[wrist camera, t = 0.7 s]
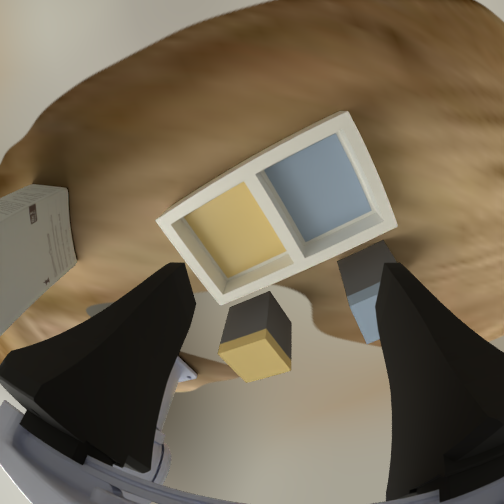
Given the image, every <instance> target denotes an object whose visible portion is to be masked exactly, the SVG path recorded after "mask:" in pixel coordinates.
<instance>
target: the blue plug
mask: <svg viewBox="0 0 504 504" xmlns="http://www.w3.org/2000/svg"><path fill="white" fill-rule="evenodd" d="M337 263H338V266H339V270H340V273H341V277H342V280H343V284H344V288H345V291H346V295H347V299H348V302H349V306H350V308H351V311H352V313H353V315H354V317H355V319H356V321H357V323H358V326H359V328H360V330H361V332H362V334H363V337H364V339H365V341H366V343H367V344H369V343H371V342H374V341H376V340H378V339H380V337H379V333H378V327H377V319H376V310H375V304H376V300H377V295H378V291H379V286H380V281H381V276H382V271H383V266H384V263H397V261H396V260H395V258H394V256H393V255H392V253H391V252H390V250H389V248H388V247H387V245H386V244H385V242H384V241H383V240H382V241H380V242H378V243H376V244H373V245H371V246H369V247H367V248H365V249H363V250H361V251H359V252H356V253H354V254H352V255H350V256H348V257H346V258H344V259H341V260H339V261H337Z"/></svg>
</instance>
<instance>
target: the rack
mask: <svg viewBox="0 0 504 504" xmlns="http://www.w3.org/2000/svg"><path fill="white" fill-rule="evenodd" d="M155 221H156V222H157V224H158V225H159V226H160V228H161V229H162V230H163V232H164V233H165V235H166V236H167V237H168V239H169V240H170V241H171V243H172V244H173V245H174V247H175V248H176V250H177V251H178V252H179V254H180V255H181V256H182V258H183V259H184V260H185V261H186V263H187V264H188V265H189V267H190V268H191V269H192V271H193V272H194V273H195V275H196V276H197V277H198V278H199V280H200V281H201V282H202V284H203V285H204V286H205V287H206V289H207V290H208V291H209V292H210V294H211V295H212V296H213V298H214V299H215V300H216V301H217V302H218V304H219V305H220V306H221V305H224V304H226V303H229V302H231V301H234V300H236V299H238V298H241V297H243V296H246V295H248V294H250V293H253V292H255V291H257V290H260V289H262V288H265V287H267V286H269V285H272V284H274V283H276V282H279V281H281V280H283V279H285V278H288V277H290V276H292V275H295V274H297V273H299V272H301V271H304V270H306V269H308V268H310V267H313V266H315V265H317V264H319V263H321V262H324V261H326V260H328V259H330V258H332V257H335V256H337V255H339V254H341V253H343V252H345V251H348V250H350V249H352V248H354V247H356V246H358V245H360V244H362V243H365V242H367V241H369V240H371V239H373V238H375V237H377V236H379V235H381V234H383V233H385V232H387V231H390V230H392V229H394V228H396V227H398V225H397V222H396V219H395V216H394V213H393V211H392V208H391V205H390V203H389V200H388V197H387V195H386V192H385V190H384V187H383V185H382V182H381V180H380V177H379V175H378V173H377V170H376V168H375V166H374V163H373V161H372V159H371V157H370V154H369V152H368V150H367V148H366V146H365V144H364V142H363V139H362V137H361V135H360V133H359V131H358V129H357V127H356V125H355V123H354V121H353V119H352V118H351V116H350V114H349V112H348V111H338V112H336V113H334V114H332V115H330V116H328V117H326V118H324V119H322V120H320V121H318V122H316V123H314V124H312V125H310V126H308V127H306V128H304V129H302V130H300V131H298V132H296V133H294V134H292V135H290V136H288V137H286V138H284V139H282V140H281V141H279V142H277V143H275V144H273V145H271V146H270V147H268V148H266V149H264V150H262V151H261V152H259V153H257V154H255V155H253V156H252V157H250V158H248V159H246V160H245V161H243V162H241V163H239V164H238V165H236V166H234V167H233V168H231V169H229V170H228V171H226V172H224V173H223V174H221V175H219V176H218V177H216V178H214V179H213V180H211V181H209V182H208V183H206V184H205V185H203V186H201V187H200V188H198V189H197V190H195V191H194V192H192V193H190V194H189V195H187V196H186V197H184V198H183V199H181V200H180V201H178V202H177V203H175V204H174V205H172V206H171V207H169V208H168V209H167V210H166V211H165V212H164V213H163V214H162V215H161V216H160V217H159V218H157V219H156V220H155Z"/></svg>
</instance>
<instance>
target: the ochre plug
mask: <svg viewBox="0 0 504 504" xmlns="http://www.w3.org/2000/svg"><path fill="white" fill-rule="evenodd" d="M218 355H219V356H220V357H221V358H222V359H223V360H224V361H225V362H226V363H227V364H228V365H229V366H230V367H231V368H232V369H233V370H234V371H235V372H236V373H237V374H238V375H239V376H240V377H241V378H242V379H243V380H244V381H245V382H246V383H247V382H251V381H255V380H259V379H263V378H267V377H270V376H274V375H278V374H281V373H284V372H288V371H291V321H290V320H289V319H288V317H287V315H286V314H285V312H284V311H283V310H282V308H281V307H280V305H279V304H278V302H277V301H276V299H275V298H274V296H273V295H272V293H271V292H270V291H268V292H266V293H263V294H261V295H259V296H256V297H254V298H251V299H249V300H246V301H244V302H242V303H239V304H237V305H234V306H232V307H230V308H229V312H228V316H227V320H226V324H225V328H224V331H223V335H222V339H221V342H220V346H219V351H218Z"/></svg>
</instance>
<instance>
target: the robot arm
mask: <svg viewBox="0 0 504 504" xmlns="http://www.w3.org/2000/svg"><path fill="white" fill-rule="evenodd" d="M195 306H196V302H195V298H194V295H193V291H192V288H191V284H190V281H189V277H188V274H187V270H186V267H185V263H171V262H170V263H169V264H167V265H165V266H164V267H162V268H161V269H159V270H158V271H157V272H155V273H154V274H153V275H151V276H150V277H149V278H147V279H146V280H145V281H143V282H142V283H141V284H139V285H138V286H137V287H135V288H134V289H133V290H131V291H130V292H129V293H127V294H126V295H124V296H123V297H121V298H120V299H119V300H117V301H116V302H114V303H113V304H112V305H110V306H109V307H107V308H106V309H104V310H103V311H102V312H100V313H98V314H96V315H95V316H93V317H91V318H90V319H88V320H86V321H85V322H83V323H81V324H79V325H77V326H75V327H73V328H71V329H69V330H67V331H65V332H63V333H61V334H59V335H56V336H54V337H52V338H49V339H47V340H44V341H42V342H39V343H36V344H33V345H30V346H27V347H24V348H20V349H17V350H13V351H11V352H10V353H9V354H8V355H7V356H6V357H5V359H4V360H3V362H2V363H1V365H0V383H1V385H2V386H3V387H4V388H5V389H6V390H7V391H8V392H9V393H10V394H11V395H12V396H13V397H14V398H15V399H16V400H17V401H18V402H19V403H20V404H21V405H22V406H23V407H25V408H26V409H27V411H26V413H25V414H23V413H22V412H20V411H19V410H18V409H16V408H15V407H14V406H12V405H11V404H10V403H9V402H7V401H6V400H4V401H3V403H2V405H1V406H0V466H1V467H2V468H3V470H4V471H5V472H6V473H7V475H8V476H9V477H10V479H11V480H12V481H13V482H14V484H15V485H16V486H17V487H18V489H19V490H20V491H21V492H22V493H23V495H24V496H25V497H26V498H27V499H28V500H29V501H30V503H31V504H150V503H151V502H155V503H158V504H245V503H238V502H231V501H226V500H220V499H214V498H210V497H205V496H200V495H196V494H192V493H188V492H184V491H180V490H177V489H173V488H170V487H166V486H163V485H162V484H163V483H164V481H165V479H166V477H167V475H168V472H169V469H170V465H171V452H170V450H169V446H168V445H167V444H166V443H164V442H163V441H164V438H165V434H163V433H162V432H161V431H162V428H163V425H164V422H165V419H166V416H167V413H168V410H169V407H170V404H171V402H172V399H173V396H174V393H175V390H176V387H177V384H178V382H182V381H187V380H192V379H196V378H197V374H196V373H195V372H194V371H193V370H192V369H191V368H190V367H189V366H188V365H187V364H186V363H185V362H184V361H183V360H182V359H181V358H180V357H179V356H178V354H179V352H180V349H181V347H182V345H183V342H184V340H185V338H186V335H187V333H188V330H189V328H190V325H191V322H192V318H193V314H194V310H195ZM375 310H376V319H377V327H378V333H379V337H380V341H381V346H382V350H383V354H384V359H385V363H386V368H387V373H388V378H389V383H390V390H391V405H392V448H391V462H390V470H389V478H388V485H387V491H386V502H380V503H373V504H504V352H502V351H500V350H499V349H497V348H496V347H495V346H493V345H492V344H490V343H489V342H487V341H486V340H485V339H483V338H482V337H481V336H479V335H478V334H477V333H475V332H474V331H473V330H472V329H470V328H469V327H468V326H467V325H466V324H464V323H463V322H462V321H461V320H460V319H458V318H457V317H456V316H455V315H454V314H453V313H452V312H451V311H450V310H449V309H447V308H446V307H445V306H444V305H443V304H442V303H441V302H440V301H439V300H438V299H437V298H436V297H435V296H434V295H433V294H432V293H431V292H430V291H429V290H428V289H427V288H426V287H425V286H424V285H423V284H422V283H421V282H420V281H419V280H418V279H417V278H416V277H415V276H414V275H413V274H412V273H411V272H410V271H409V270H407V269H406V268H405V267H404V266H403V265H402V264H401V263H384V266H383V271H382V276H381V281H380V286H379V291H378V295H377V300H376V304H375Z"/></svg>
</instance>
